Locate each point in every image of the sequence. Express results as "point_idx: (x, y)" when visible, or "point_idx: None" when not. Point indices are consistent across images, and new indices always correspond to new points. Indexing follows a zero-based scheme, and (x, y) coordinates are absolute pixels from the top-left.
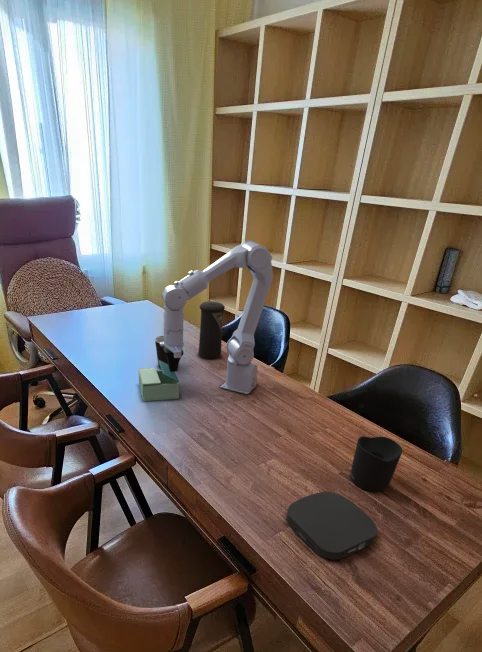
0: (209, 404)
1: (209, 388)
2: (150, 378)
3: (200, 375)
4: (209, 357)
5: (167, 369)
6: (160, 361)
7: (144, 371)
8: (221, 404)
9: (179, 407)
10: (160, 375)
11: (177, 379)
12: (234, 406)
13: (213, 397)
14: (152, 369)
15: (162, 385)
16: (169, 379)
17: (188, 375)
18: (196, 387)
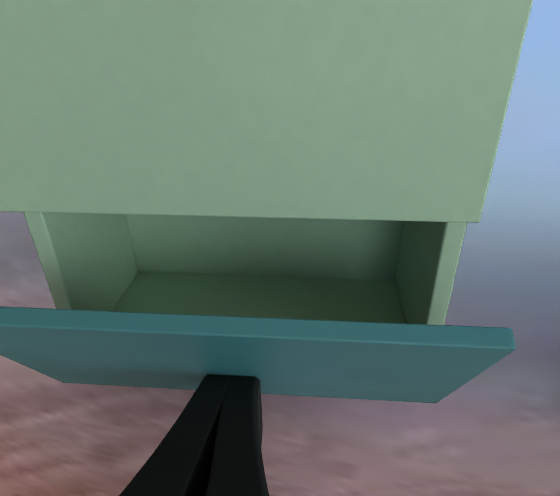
0: (69, 405)
1: (270, 451)
2: (112, 95)
3: (467, 457)
4: None
5: (236, 366)
6: (455, 355)
7: (395, 26)
8: (75, 449)
9: (2, 251)
10: (425, 229)
11: (87, 381)
12: (61, 484)
13: (154, 440)
14: (435, 173)
15: (27, 214)
16: (400, 282)
17: (499, 402)
18: (295, 400)
